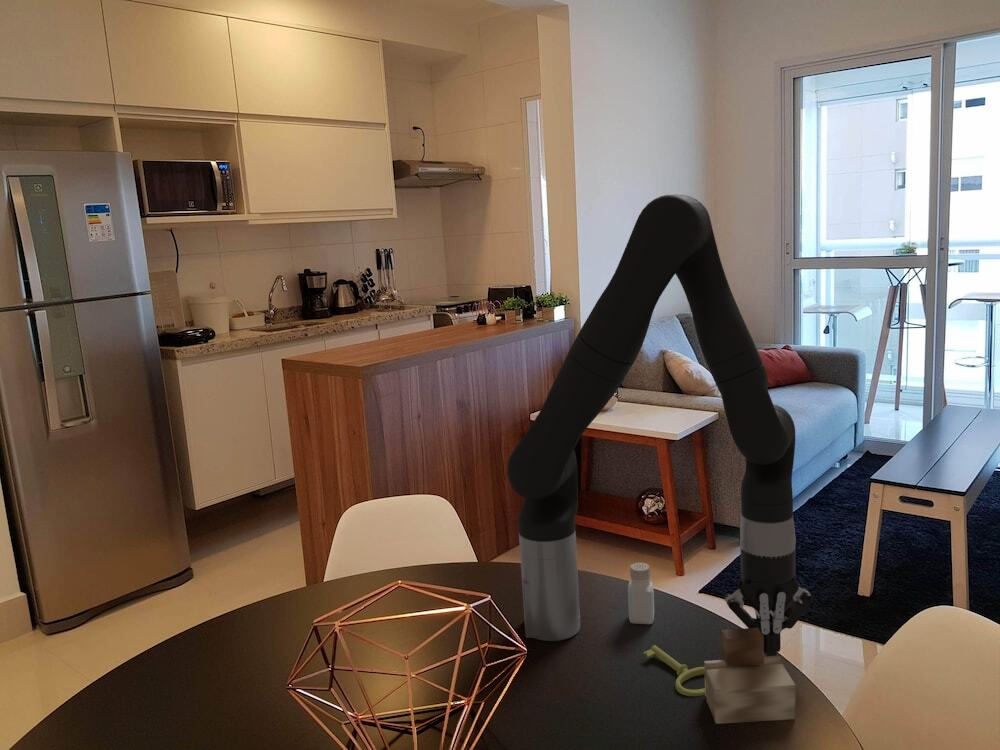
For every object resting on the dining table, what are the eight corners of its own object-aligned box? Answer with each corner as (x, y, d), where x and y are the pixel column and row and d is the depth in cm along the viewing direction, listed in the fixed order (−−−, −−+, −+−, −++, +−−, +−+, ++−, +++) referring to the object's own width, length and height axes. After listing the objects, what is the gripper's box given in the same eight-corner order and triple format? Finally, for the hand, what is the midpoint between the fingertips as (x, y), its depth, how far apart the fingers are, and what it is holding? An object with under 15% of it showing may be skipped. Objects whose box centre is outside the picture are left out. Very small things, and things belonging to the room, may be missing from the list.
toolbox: (716, 723, 108) (715, 689, 107) (706, 701, 113) (705, 668, 112) (795, 719, 108) (795, 685, 107) (782, 696, 113) (782, 663, 112)
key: (652, 655, 126) (651, 642, 126) (726, 681, 119) (726, 667, 118) (627, 677, 121) (626, 664, 121) (703, 705, 113) (703, 692, 113)
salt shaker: (628, 624, 135) (626, 571, 133) (630, 612, 139) (628, 560, 137) (653, 626, 134) (651, 572, 132) (654, 614, 138) (652, 561, 136)
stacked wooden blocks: (713, 714, 110) (711, 652, 108) (703, 690, 115) (702, 631, 113) (791, 709, 110) (791, 647, 108) (777, 686, 115) (777, 626, 113)
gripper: (804, 530, 121) (804, 637, 124) (714, 537, 121) (718, 643, 125) (823, 550, 114) (824, 664, 117) (728, 558, 114) (731, 670, 117)
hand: (769, 653), depth 121 cm, fingers closed
